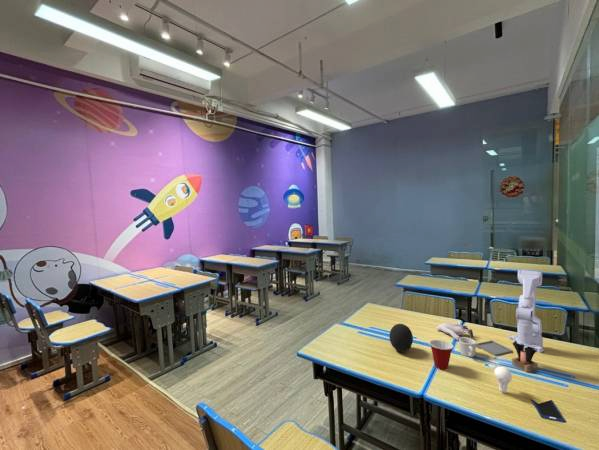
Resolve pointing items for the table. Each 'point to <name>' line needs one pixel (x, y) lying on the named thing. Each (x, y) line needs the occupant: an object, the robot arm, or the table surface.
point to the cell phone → (549, 411)
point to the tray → (493, 348)
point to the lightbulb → (503, 378)
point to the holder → (526, 368)
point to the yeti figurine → (454, 330)
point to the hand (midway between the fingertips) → (524, 359)
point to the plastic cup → (441, 353)
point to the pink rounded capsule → (523, 357)
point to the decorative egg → (401, 337)
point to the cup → (467, 346)
